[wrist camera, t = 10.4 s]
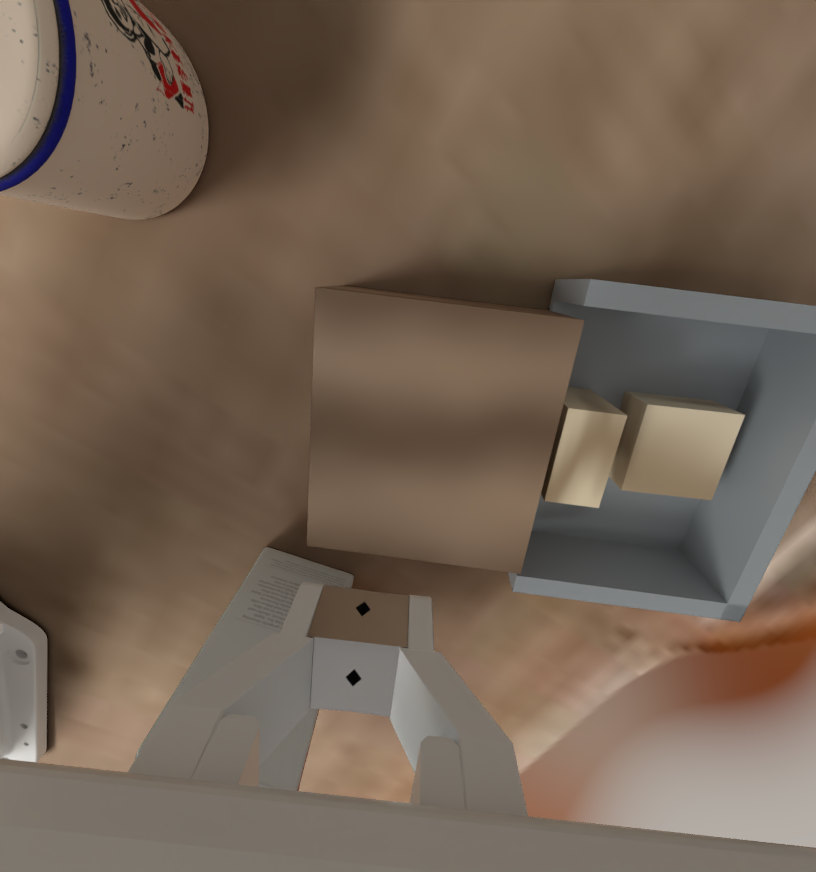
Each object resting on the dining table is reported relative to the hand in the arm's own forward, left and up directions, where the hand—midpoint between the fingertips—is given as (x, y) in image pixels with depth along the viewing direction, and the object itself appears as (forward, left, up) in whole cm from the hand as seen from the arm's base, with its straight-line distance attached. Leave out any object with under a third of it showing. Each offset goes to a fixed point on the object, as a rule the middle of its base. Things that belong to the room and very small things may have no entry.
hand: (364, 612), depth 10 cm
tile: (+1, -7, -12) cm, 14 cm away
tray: (+1, -12, -15) cm, 19 cm away
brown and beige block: (+1, -1, -15) cm, 15 cm away
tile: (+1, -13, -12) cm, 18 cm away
